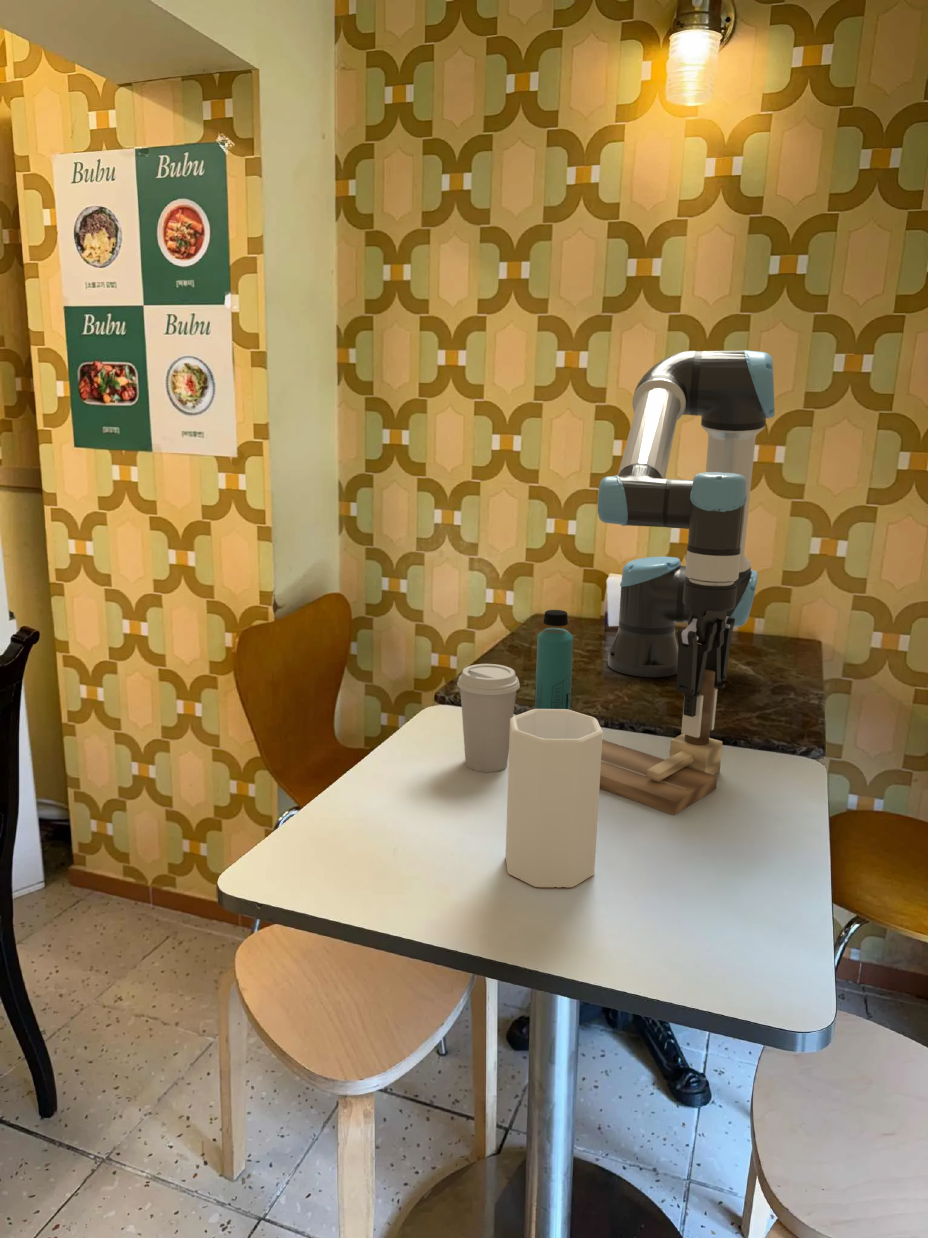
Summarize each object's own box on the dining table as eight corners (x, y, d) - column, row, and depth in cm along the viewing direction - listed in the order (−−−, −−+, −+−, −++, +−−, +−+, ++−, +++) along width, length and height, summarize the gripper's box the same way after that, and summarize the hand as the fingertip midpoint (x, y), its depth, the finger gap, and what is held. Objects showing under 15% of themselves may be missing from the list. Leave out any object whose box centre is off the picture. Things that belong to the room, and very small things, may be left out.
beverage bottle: (569, 729, 155) (574, 616, 150) (530, 726, 156) (535, 614, 151) (572, 717, 161) (577, 608, 156) (535, 713, 162) (539, 605, 157)
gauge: (684, 761, 142) (692, 664, 138) (719, 772, 138) (729, 672, 135) (633, 790, 132) (640, 685, 128) (669, 802, 128) (678, 695, 124)
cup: (529, 898, 103) (535, 747, 98) (488, 853, 113) (492, 714, 108) (612, 879, 107) (622, 733, 103) (566, 837, 117) (572, 703, 113)
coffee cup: (446, 756, 142) (447, 665, 139) (500, 748, 146) (503, 659, 142) (470, 780, 134) (472, 684, 130) (527, 771, 138) (531, 677, 134)
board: (572, 741, 150) (572, 729, 149) (715, 788, 133) (717, 775, 132) (526, 761, 141) (527, 749, 140) (674, 815, 124) (675, 801, 123)
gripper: (714, 569, 140) (702, 711, 145) (658, 584, 128) (646, 739, 134) (760, 576, 135) (745, 723, 140) (706, 593, 123) (692, 753, 129)
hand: (697, 730), depth 137 cm, fingers closed on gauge, 4 cm apart
